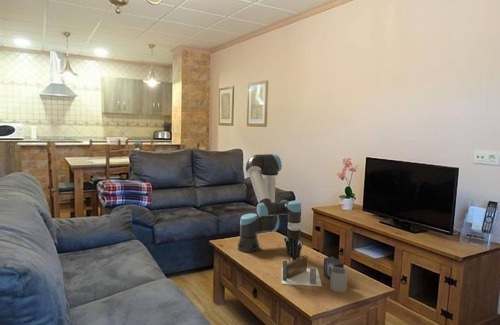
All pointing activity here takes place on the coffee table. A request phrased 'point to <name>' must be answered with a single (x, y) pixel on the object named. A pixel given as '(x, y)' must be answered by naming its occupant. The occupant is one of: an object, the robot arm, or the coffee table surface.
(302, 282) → the board
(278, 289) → the coffee table surface
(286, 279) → the hinge post
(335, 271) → the cup
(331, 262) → the small box
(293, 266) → the brown wooden plank
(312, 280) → the post
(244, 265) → the coffee table surface
